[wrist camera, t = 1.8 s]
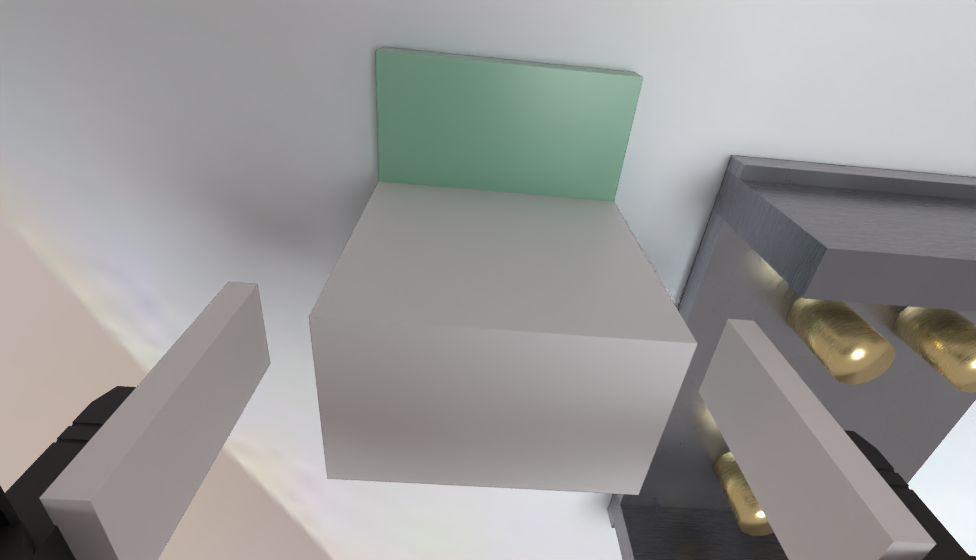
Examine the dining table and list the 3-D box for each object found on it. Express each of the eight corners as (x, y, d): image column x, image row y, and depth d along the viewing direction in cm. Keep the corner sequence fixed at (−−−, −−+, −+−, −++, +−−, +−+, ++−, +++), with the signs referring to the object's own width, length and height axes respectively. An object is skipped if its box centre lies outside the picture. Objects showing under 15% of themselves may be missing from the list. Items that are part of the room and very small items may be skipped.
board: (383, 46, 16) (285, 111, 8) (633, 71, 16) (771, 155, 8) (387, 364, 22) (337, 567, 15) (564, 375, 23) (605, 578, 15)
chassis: (731, 155, 17) (836, 229, 12) (1106, 189, 18) (1355, 273, 13) (607, 510, 28) (635, 632, 22) (850, 522, 28) (931, 643, 23)
